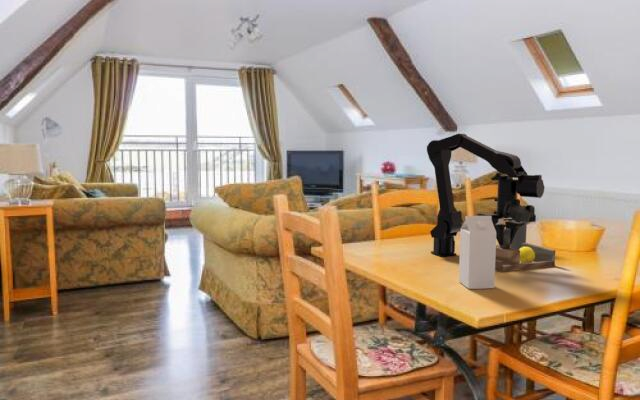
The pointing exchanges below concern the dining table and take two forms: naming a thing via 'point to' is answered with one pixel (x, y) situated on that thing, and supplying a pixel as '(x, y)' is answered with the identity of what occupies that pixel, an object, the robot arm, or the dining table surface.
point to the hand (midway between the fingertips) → (504, 244)
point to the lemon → (526, 254)
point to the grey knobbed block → (507, 250)
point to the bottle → (519, 237)
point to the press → (542, 259)
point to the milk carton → (477, 252)
